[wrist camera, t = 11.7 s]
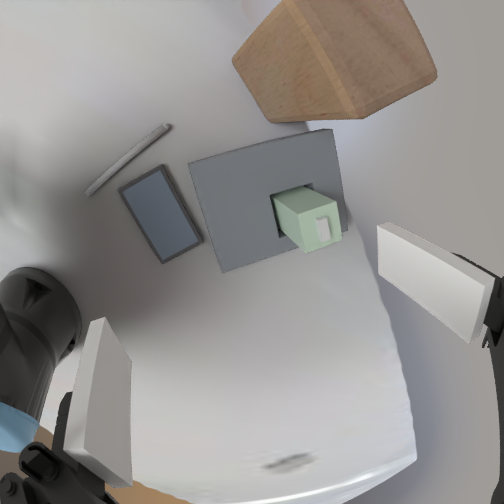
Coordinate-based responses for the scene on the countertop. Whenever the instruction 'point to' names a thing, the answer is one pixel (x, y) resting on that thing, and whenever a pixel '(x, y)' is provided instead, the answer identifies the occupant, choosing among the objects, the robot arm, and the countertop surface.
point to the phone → (160, 214)
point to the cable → (126, 158)
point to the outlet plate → (262, 192)
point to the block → (333, 59)
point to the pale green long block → (307, 217)
